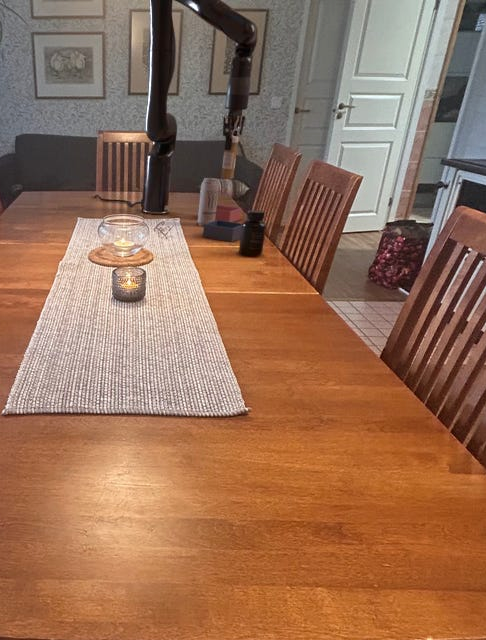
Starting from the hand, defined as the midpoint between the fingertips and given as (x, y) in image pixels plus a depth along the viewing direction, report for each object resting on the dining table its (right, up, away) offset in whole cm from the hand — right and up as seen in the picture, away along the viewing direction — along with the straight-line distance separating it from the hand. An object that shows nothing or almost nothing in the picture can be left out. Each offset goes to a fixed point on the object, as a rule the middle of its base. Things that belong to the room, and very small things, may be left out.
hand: (230, 149), depth 208 cm
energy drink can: (-8, -26, +2) cm, 27 cm away
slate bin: (-5, -36, -14) cm, 39 cm away
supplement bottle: (-1, -48, -33) cm, 58 cm away
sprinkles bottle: (0, -8, +5) cm, 10 cm away
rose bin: (-1, -20, +12) cm, 23 cm away
